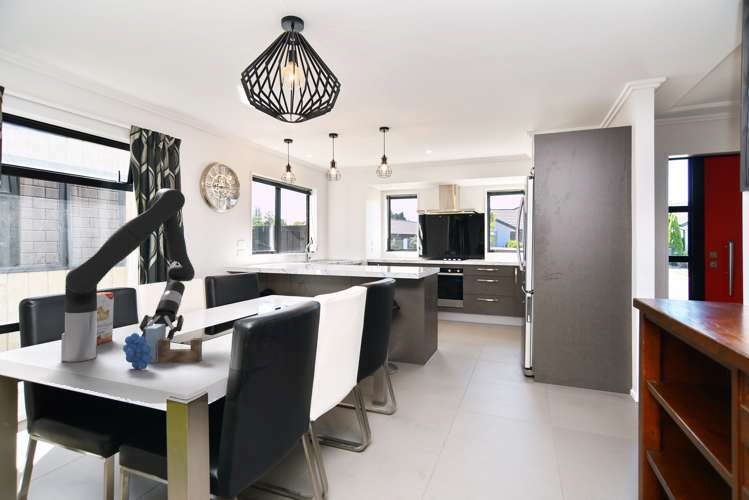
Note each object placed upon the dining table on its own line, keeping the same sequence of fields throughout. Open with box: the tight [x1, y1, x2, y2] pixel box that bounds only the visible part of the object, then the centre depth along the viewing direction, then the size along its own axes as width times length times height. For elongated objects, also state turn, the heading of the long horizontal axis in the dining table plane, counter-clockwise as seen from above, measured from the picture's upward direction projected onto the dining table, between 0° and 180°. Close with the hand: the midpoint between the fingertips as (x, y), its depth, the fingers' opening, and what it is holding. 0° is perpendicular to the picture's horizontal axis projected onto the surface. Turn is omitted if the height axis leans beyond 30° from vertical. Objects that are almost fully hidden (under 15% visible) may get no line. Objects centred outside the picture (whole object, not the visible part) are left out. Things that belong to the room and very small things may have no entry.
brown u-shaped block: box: [157, 337, 203, 364], centre depth 139 cm, size 14×3×8 cm, turn 97°
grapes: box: [122, 332, 152, 370], centre depth 128 cm, size 12×7×12 cm, turn 72°
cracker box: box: [96, 291, 115, 345], centre depth 160 cm, size 14×6×21 cm, turn 168°
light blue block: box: [146, 324, 167, 363], centre depth 141 cm, size 4×8×12 cm, turn 7°
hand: (156, 340), depth 142 cm, fingers open, 8 cm apart
